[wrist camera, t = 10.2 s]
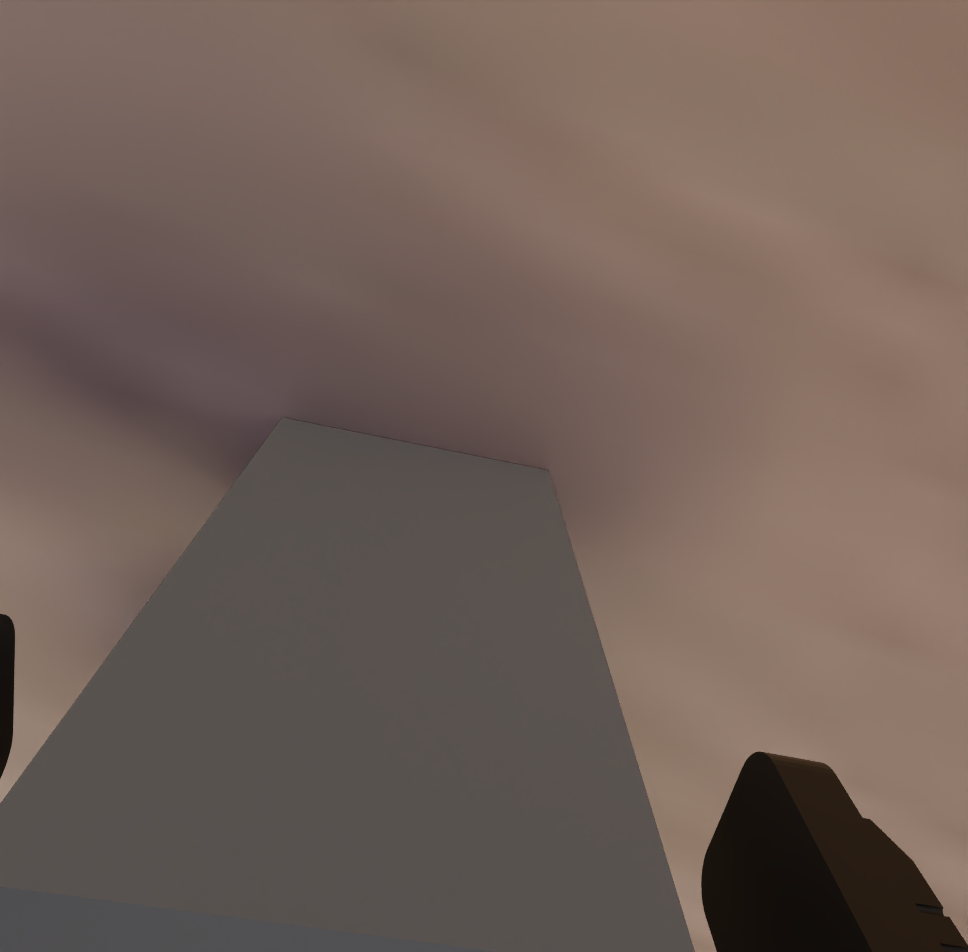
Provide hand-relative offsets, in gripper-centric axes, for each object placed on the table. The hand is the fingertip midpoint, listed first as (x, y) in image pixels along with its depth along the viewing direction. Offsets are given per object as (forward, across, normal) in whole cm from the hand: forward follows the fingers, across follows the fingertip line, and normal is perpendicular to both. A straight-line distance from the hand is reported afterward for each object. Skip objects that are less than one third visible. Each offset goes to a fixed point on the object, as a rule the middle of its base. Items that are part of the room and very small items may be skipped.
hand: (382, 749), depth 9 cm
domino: (+7, 0, 0) cm, 7 cm away
